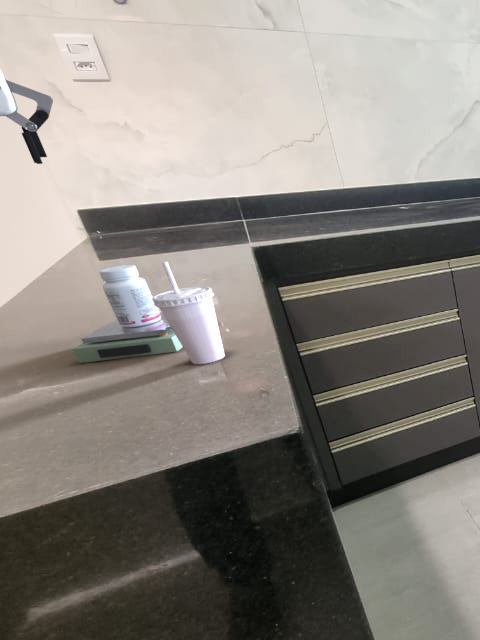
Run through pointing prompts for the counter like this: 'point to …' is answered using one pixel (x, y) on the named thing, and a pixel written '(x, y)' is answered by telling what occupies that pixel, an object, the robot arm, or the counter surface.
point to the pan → (128, 331)
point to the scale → (127, 348)
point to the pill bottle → (129, 296)
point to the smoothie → (192, 320)
